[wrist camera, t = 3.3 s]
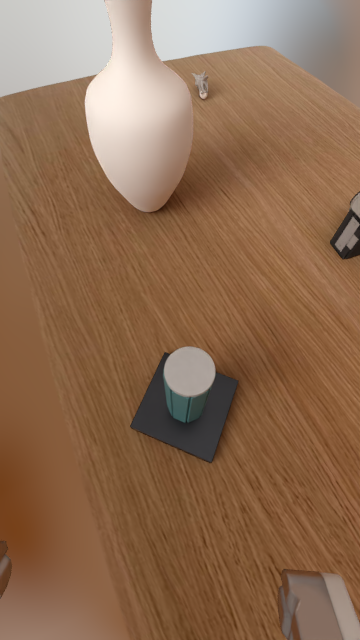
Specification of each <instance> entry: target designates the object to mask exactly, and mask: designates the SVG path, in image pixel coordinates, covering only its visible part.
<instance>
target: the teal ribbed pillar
mask: <svg viewBox="0 0 360 640" xmlns="http://www.w3.org/2000/svg"><path fill="white" fill-rule="evenodd" d="M215 372H216V370H215V365H214V362H213V360H212V358H211V357H210V356H209V355H208V354H207V353H206V352H205V351H203V350H201V349H199V348H196V347H183V348H180V349H177V350H176V351H174V352H173V353H172V354H171V355H170V356H169V357H168V359H167V361H166V363H165V367H164V370H163V373H164V374H163V378H164V385H165V393H166V401H167V406H168V408H169V411H170V413H171V416H173V418H175V419H177V420H180V421H182V422H184V423H186V420H187V422H188V423H189V422H191V421H193V420H196V419H198V418H200V416H202V413H203V410H204V407H205V405H206V402H207V399H208V396H209V393H210V390H211V388H212V385H213V382H214V379H215V376H216V374H215Z"/></svg>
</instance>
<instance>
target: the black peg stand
mask: <svg viewBox="0 0 360 640" xmlns="http://www.w3.org/2000/svg"><path fill="white" fill-rule="evenodd" d="M170 355H171V354H168V353H166V352H165V353H164V355H163V357H162V359H161V361H160V364H159V366H158V368H157V370H156V372H155V374H154V376H153V379H152V381H151V383H150V385H149V387H148V389H147V391H146V394H145V396H144V398H143V400H142V402H141V404H140V406H139V409H138V411H137V413H136V415H135V417H134V419H133V421H132V424H131V426H130V427H131V428H132V429H134V430H136V431H139V432H141V433H143V434H145V435H148V436H150V437H152V438H154V439H157V440H159V441H161V442H163V443H166V444H168V445H170V446H172V447H175V448H177V449H179V450H181V451H184V452H186V453H188V454H190V455H193V456H195V457H197V458H199V459H202V460H204V461H206V462H208V463H212V460H213V457H214V454H215V451H216V448H217V445H218V442H219V439H220V436H221V433H222V430H223V427H224V424H225V421H226V418H227V415H228V412H229V409H230V406H231V403H232V400H233V397H234V394H235V390H236V387H237V384H238V380H235V379H232V378H230V377H227V376H225V375H222V374H220V373H217V372H215V374H216V376H215V379H214V382H213V385H212V388H211V390H210V393H209V396H208V399H207V402H206V405H205V407H204V410H203V413H202V416H200V418H198V419H196V420H193V421H191V422H189V423H188V422H187V420H186V423H184V422H182V421H180V420H177V419H175V418H173V416H171V413H170V411H169V408H168V406H167V401H166V393H165V385H164V378H163V374H164V373H163V370H164V367H165V363H166V361H167V359H168V357H169V356H170Z"/></svg>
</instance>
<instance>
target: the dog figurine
mask: <svg viewBox="0 0 360 640" xmlns="http://www.w3.org/2000/svg"><path fill="white" fill-rule="evenodd" d="M205 72H206V71H205ZM205 72H203V73H202V74H201V75H196V74H194V73H192V75H193V76H194V77H195V82H196V83H195V85H196V86H197V88H198V89H199V92H200V95H199V97H201V98H202V99H205V98H206V97H207V93H208V83H207V79H208V75H207V76H205V77H204V75H205ZM205 88H206V89H207V91H206V90H205ZM201 89H202V91H201Z"/></svg>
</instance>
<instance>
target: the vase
mask: <svg viewBox="0 0 360 640" xmlns="http://www.w3.org/2000/svg"><path fill="white" fill-rule="evenodd" d="M105 4H106V8H107V11H108V15H109V19H110V23H111V29H112V38H113V48H112V55H111V59H110V61H109V63H108V64H107V65H106V67H105V68H104V69H103V70H102V71H101V72H100V73H98V74H97V76H96V77H95V78H94V79H93V80H92V82H91V83H90V84H89V86H88V88H87V93H86V98H85V110H86V119H87V126H88V131H89V136H90V140H91V144H92V147H93V150H94V152H95V155H96V157H97V159H98V161H99V163H100V165H101V167H102V169H103V170H104V172H105V174H106V176H107V178H108V179H109V181H110V182H111V183H112V184H113V186H114V187H115V188H116V189H117V190H118V191H119V192H120V193H121V194H122V195H123V196H124V197H125V199H126V200H127V201H128V202H129V203H130V204H132V205H133V206H134V207H135V208H137V209H138V210H140V211H143V212H153V211H156V210H158V209H160V208H161V207H162V206H163V205H164V204H165V203H166V202H167V200H168V199H169V198H170V196H171V195H172V193H173V192H174V190H175V189H176V187H177V185H178V184H179V182H180V180H181V178H182V176H183V174H184V172H185V169H186V165H187V162H188V159H189V155H190V152H191V147H192V140H193V108H192V100H191V95H190V92H189V90H188V87H187V85H186V83H185V82H184V81H183V79H182V78H181V77H179V76H178V75H177V74H176V73H175V72H174V71H173V70H171V69H170V68H169V67H167V66H166V65H165V64H164V63H163V62H162V61H161V60H160V59H159V57H158V56H157V54H156V52H155V49H154V45H153V41H152V33H151V5H152V0H105Z"/></svg>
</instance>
